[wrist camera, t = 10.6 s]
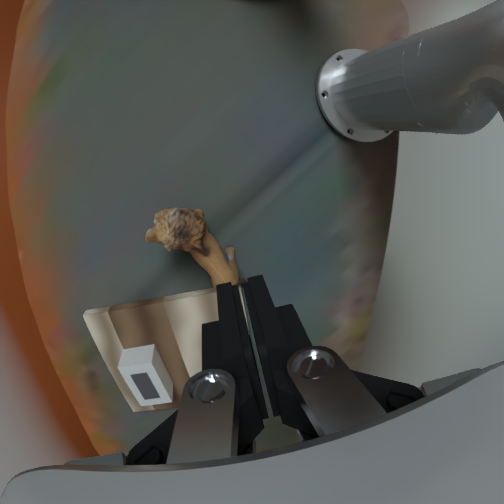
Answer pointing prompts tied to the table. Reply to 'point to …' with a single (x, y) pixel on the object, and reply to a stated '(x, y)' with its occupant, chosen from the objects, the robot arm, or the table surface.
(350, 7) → the table surface
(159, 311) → the plywood board
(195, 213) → the lion figurine
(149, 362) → the block
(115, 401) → the table surface
